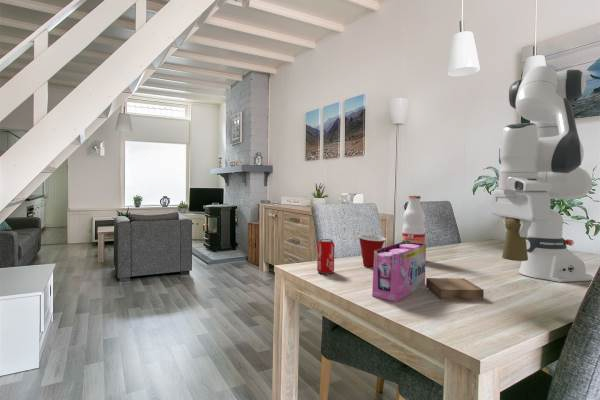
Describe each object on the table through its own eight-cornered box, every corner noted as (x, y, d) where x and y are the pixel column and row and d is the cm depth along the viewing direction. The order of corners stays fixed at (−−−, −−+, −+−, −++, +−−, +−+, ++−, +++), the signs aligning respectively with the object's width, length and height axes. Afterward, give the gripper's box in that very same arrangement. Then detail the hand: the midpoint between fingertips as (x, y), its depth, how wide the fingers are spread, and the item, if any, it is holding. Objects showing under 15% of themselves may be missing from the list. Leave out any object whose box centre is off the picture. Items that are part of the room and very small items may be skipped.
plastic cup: (382, 270, 131) (382, 239, 131) (354, 267, 136) (354, 237, 135) (387, 264, 141) (388, 235, 141) (361, 262, 146) (362, 233, 145)
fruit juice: (427, 260, 150) (429, 195, 148) (419, 264, 143) (421, 196, 141) (406, 257, 156) (408, 195, 155) (398, 260, 149) (399, 195, 147)
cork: (533, 260, 92) (535, 218, 91) (515, 261, 90) (517, 219, 89) (513, 255, 97) (515, 216, 97) (496, 256, 96) (498, 217, 95)
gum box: (395, 304, 95) (396, 254, 94) (369, 297, 100) (370, 251, 99) (425, 284, 113) (426, 243, 113) (402, 280, 118) (403, 241, 118)
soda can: (331, 275, 124) (332, 242, 123) (314, 273, 126) (315, 241, 125) (335, 271, 130) (336, 239, 129) (319, 269, 132) (320, 238, 131)
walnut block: (463, 287, 110) (464, 278, 110) (483, 300, 98) (483, 289, 98) (426, 287, 110) (426, 277, 110) (440, 299, 98) (441, 289, 98)
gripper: (485, 183, 103) (484, 229, 104) (530, 184, 83) (528, 241, 83) (506, 183, 103) (505, 229, 104) (556, 184, 83) (554, 241, 83)
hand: (515, 235), depth 93 cm, fingers closed on cork, 4 cm apart
